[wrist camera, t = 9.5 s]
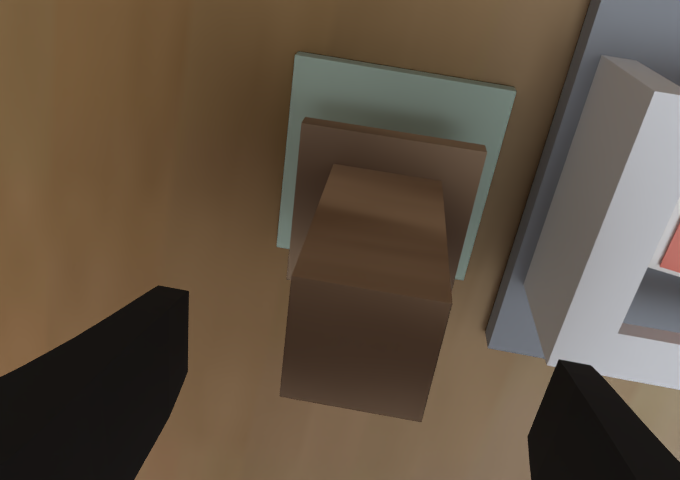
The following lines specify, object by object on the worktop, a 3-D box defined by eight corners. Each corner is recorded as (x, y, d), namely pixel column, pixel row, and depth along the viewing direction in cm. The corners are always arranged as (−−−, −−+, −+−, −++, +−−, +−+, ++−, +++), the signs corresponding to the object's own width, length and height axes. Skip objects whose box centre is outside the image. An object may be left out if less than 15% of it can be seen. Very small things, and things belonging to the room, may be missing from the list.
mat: (462, 271, 22) (463, 280, 21) (279, 239, 22) (276, 246, 22) (513, 86, 19) (516, 91, 18) (298, 51, 19) (294, 54, 18)
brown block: (443, 250, 21) (458, 464, 13) (306, 227, 21) (231, 422, 13) (475, 114, 19) (521, 266, 10) (321, 91, 19) (241, 219, 10)
